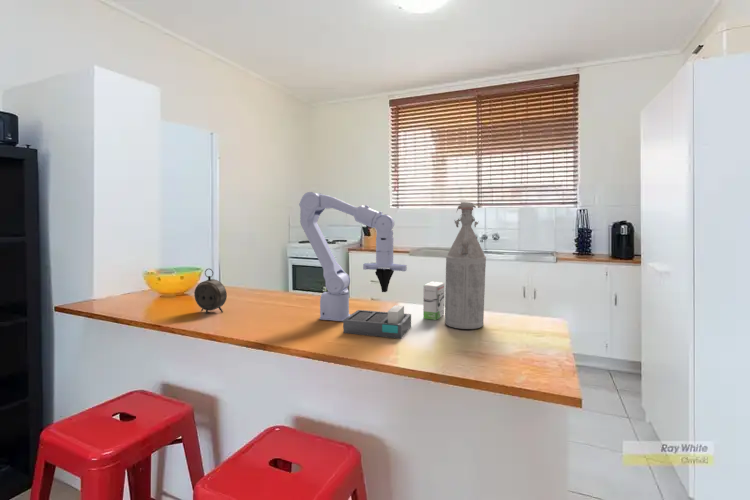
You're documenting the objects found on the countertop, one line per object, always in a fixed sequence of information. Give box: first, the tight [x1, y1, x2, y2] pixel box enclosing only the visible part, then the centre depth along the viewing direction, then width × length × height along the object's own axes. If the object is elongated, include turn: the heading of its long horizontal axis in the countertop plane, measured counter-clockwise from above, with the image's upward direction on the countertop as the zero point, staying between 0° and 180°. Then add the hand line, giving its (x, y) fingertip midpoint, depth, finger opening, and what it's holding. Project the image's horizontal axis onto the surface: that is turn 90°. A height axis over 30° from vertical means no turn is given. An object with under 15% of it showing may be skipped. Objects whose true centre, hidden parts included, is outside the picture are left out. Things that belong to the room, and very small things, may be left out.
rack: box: [342, 309, 412, 340], centre depth 121 cm, size 18×13×4 cm
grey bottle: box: [444, 201, 487, 330], centre depth 126 cm, size 13×17×40 cm
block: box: [387, 304, 405, 324], centre depth 120 cm, size 3×8×6 cm, turn 162°
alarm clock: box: [193, 268, 227, 314], centre depth 142 cm, size 11×5×16 cm, turn 76°
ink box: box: [422, 280, 446, 321], centre depth 136 cm, size 9×5×12 cm, turn 151°
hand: (384, 291), depth 131 cm, fingers closed
